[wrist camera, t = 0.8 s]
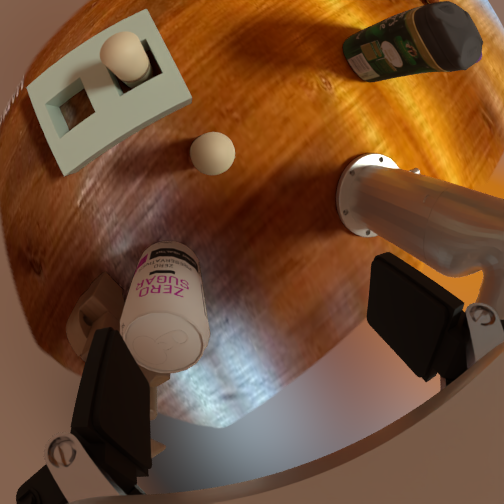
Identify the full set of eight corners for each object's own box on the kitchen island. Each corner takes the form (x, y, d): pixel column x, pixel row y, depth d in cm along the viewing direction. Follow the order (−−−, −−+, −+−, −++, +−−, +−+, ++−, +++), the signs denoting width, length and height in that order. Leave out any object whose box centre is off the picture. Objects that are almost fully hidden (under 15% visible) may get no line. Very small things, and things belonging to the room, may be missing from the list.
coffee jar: (371, 25, 26) (463, -5, 10) (398, 67, 30) (495, 56, 13) (330, 44, 27) (429, 2, 10) (361, 90, 31) (470, 79, 14)
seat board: (150, 21, 22) (139, -17, 13) (191, 103, 27) (193, 85, 18) (41, 91, 21) (-2, 80, 12) (77, 172, 27) (38, 185, 18)
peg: (213, 130, 29) (223, 124, 20) (226, 157, 31) (242, 163, 22) (184, 144, 29) (182, 144, 20) (198, 171, 31) (202, 183, 22)
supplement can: (160, 304, 36) (155, 387, 23) (127, 257, 33) (97, 330, 19) (211, 278, 36) (228, 356, 23) (180, 227, 33) (177, 288, 19)
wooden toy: (77, 296, 33) (15, 446, 10) (105, 270, 32) (39, 435, 10) (149, 359, 40) (148, 505, 17) (178, 340, 39) (193, 497, 17)
